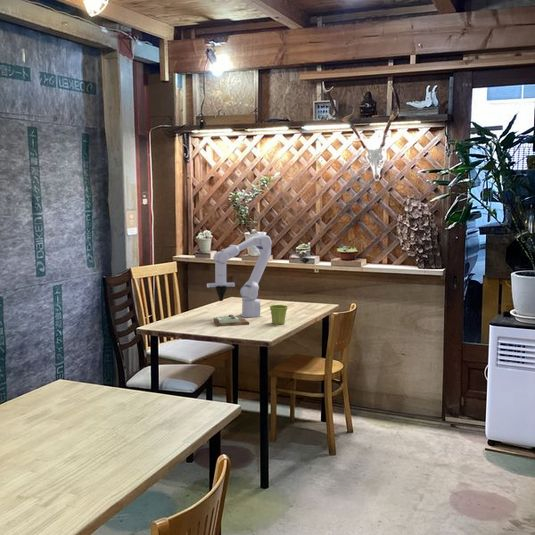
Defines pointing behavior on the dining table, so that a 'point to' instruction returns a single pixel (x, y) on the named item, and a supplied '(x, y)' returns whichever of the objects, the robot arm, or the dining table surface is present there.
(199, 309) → the dining table surface
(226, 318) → the panel
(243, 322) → the board
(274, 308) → the plant pot
